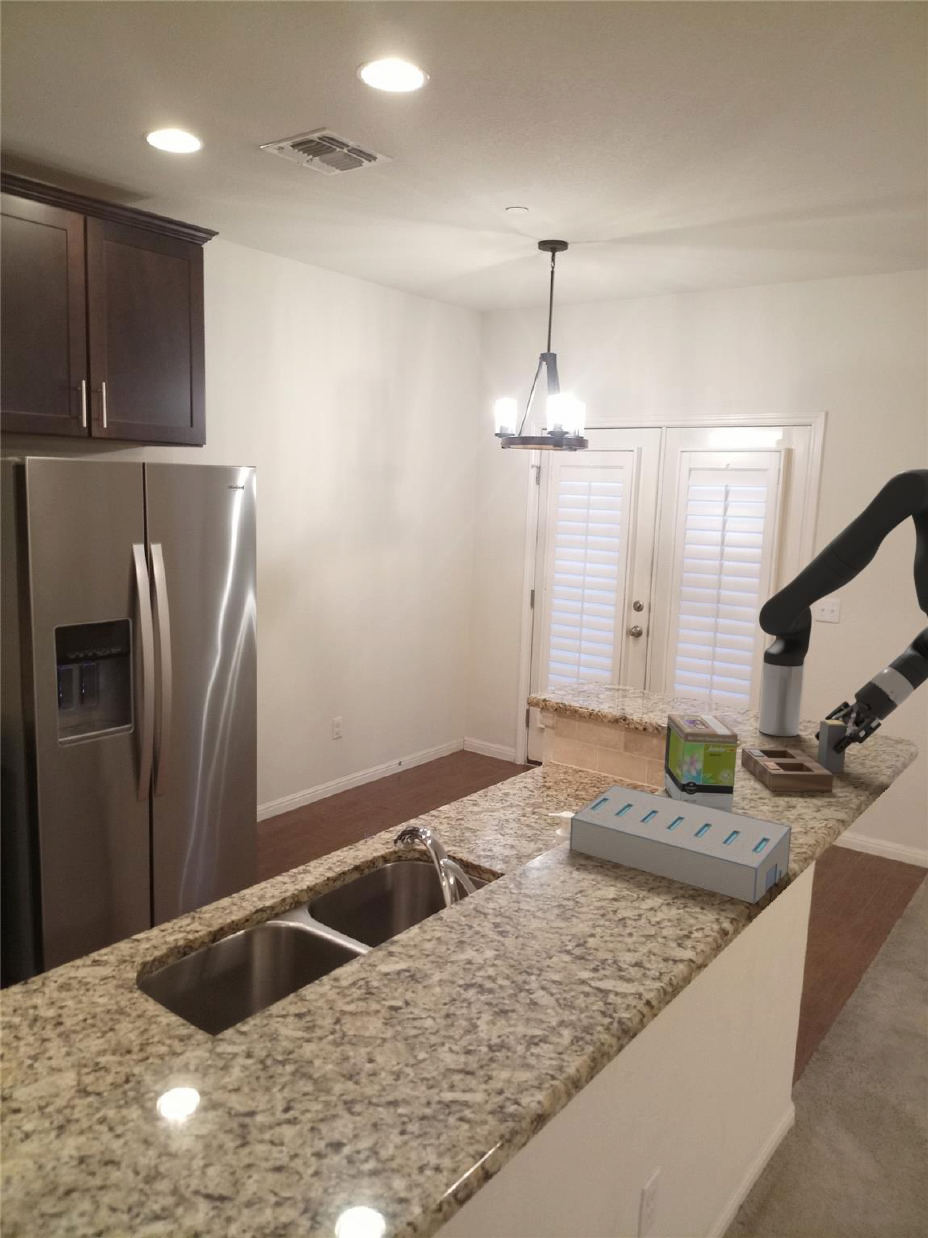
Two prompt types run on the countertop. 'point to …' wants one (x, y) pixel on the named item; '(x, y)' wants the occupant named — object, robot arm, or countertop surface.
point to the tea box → (700, 760)
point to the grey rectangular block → (827, 738)
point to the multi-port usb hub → (684, 841)
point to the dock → (786, 770)
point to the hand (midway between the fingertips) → (825, 745)
